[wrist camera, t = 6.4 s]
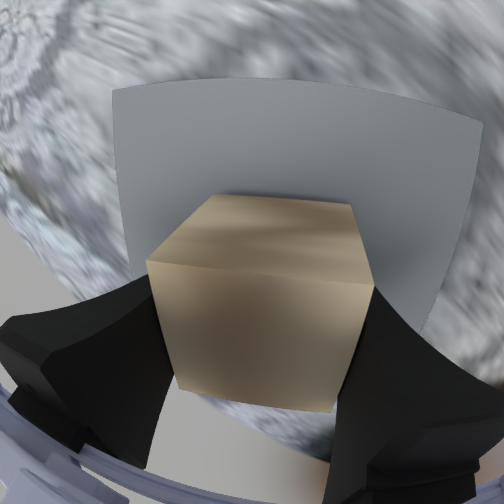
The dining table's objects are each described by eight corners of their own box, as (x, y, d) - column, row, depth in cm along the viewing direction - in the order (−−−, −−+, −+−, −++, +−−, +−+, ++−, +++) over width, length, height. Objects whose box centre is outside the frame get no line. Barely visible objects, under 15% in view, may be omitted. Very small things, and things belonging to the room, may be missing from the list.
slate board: (470, 120, 9) (483, 122, 8) (397, 354, 16) (400, 368, 15) (126, 89, 11) (112, 90, 10) (153, 317, 18) (145, 329, 17)
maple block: (350, 204, 10) (374, 285, 5) (331, 314, 12) (330, 412, 8) (213, 194, 11) (145, 260, 6) (220, 301, 13) (179, 388, 9)
